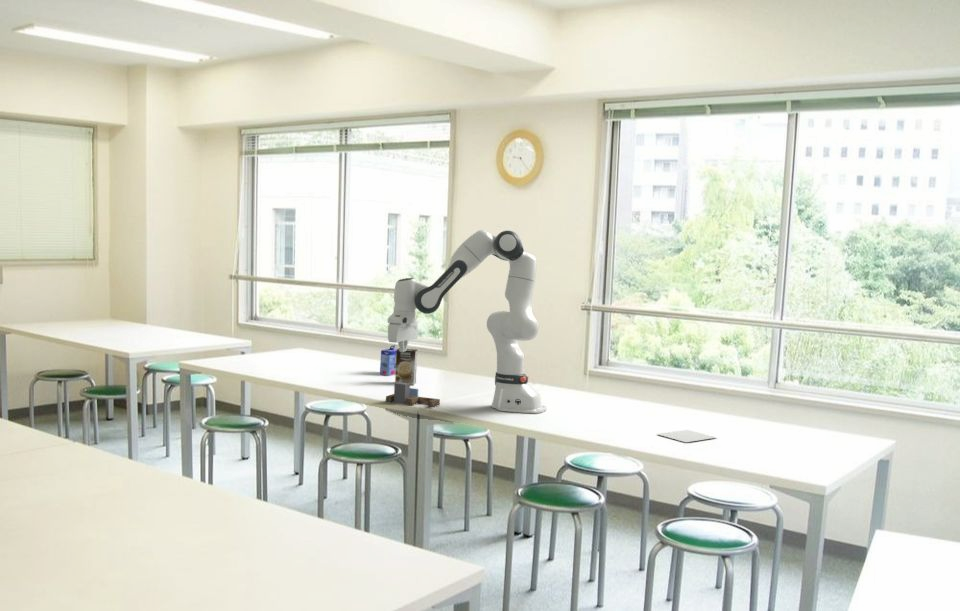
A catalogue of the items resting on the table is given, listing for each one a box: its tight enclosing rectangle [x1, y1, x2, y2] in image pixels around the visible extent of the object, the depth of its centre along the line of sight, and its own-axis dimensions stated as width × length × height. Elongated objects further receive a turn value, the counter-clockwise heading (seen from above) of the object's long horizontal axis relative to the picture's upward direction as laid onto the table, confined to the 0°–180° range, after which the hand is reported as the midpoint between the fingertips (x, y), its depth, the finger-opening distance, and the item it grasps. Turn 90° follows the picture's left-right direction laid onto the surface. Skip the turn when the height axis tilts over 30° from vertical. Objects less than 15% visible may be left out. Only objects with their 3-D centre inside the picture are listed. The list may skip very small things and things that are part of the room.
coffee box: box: [394, 348, 418, 386], centre depth 398 cm, size 9×6×16 cm
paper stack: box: [657, 429, 718, 443], centre depth 306 cm, size 23×25×1 cm
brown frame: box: [385, 387, 441, 408], centre depth 353 cm, size 21×10×5 cm, turn 68°
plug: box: [393, 382, 411, 405], centre depth 354 cm, size 5×4×8 cm
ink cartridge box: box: [379, 344, 398, 377], centre depth 424 cm, size 10×6×14 cm, turn 153°
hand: (402, 351), depth 352 cm, fingers closed
